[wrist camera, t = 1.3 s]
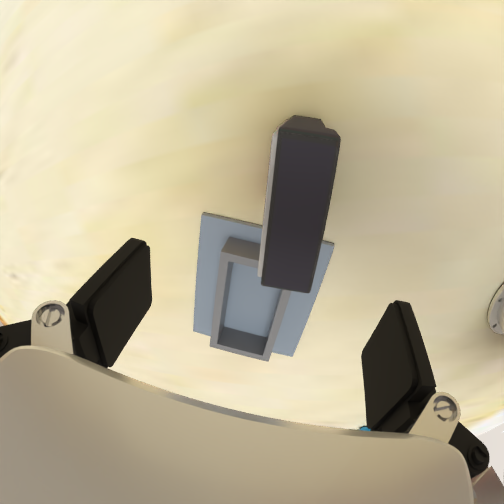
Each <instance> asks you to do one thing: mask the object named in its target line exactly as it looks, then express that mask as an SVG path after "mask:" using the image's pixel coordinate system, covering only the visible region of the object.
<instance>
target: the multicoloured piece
mask: <svg viewBox="0 0 504 504" xmlns="http://www.w3.org/2000/svg"><path fill="white" fill-rule="evenodd" d="M340 140H341V139H340V136H339V135H338V133H337V132H336V131H335V130H333V129H329V128H326V127H325V126H324V124H323V122H322V121H321V119H316V118H310V117H303V116H296V115H294V116H292V117H291V118H290V119H287V120H286V121H285V122H284V123H282V124H281V125H279V126H278V127H277V130H276V131H275V132H274V133H273V135H272V142H271V152H270V161H269V171H268V181H267V190H266V200H265V209H264V218H263V228H262V237H261V246H260V255H259V264H258V274H257V276H258V277H261V285H262V286H266V287H272V288H277V289H283V290H289V291H295V292H301V293H310V291H311V288H312V283H313V279H314V275H315V271H316V266H317V262H318V258H319V253H320V248H321V244H322V239H323V235H324V230H325V225H326V220H327V215H328V210H329V205H330V200H331V194H332V189H333V183H334V178H335V172H336V166H337V160H338V154H339V148H340Z"/></svg>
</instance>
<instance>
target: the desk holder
mask: <svg viewBox="0 0 504 504" xmlns="http://www.w3.org/2000/svg"><path fill="white" fill-rule="evenodd" d="M262 228H263V226H261V225H257V224H253V223H248V222H244V221H240V220H235V219H231V218H227V217H222V216H218V215H213V214H209V213H203V214H202V216H201V227H200V238H199V250H198V263H197V276H196V291H195V308H194V328H193V331H195V332H198V333H201V334H205V335H208V336H211V339H210V347H214V348H217V349H221V350H225V351H228V352H232V353H236V354H240V355H243V356H247V357H251V358H255V359H259V360H264V361H269V358H270V355H271V353H272V352H274V353H278V354H282V355H287V356H291V357H292V356H293V354H294V352H295V349H296V347H297V345H298V342H299V340H300V337H301V335H302V332H303V330H304V327H305V325H306V322H307V320H308V317H309V315H310V312H311V310H312V307H313V304H314V302H315V299H316V296H317V294H318V291H319V288H320V286H321V283H322V280H323V277H324V275H325V272H326V269H327V266H328V263H329V261H330V258H331V255H332V252H333V249H334V243H330V242H327V241H323V240H322V244H321V248H320V253H319V258H318V262H317V266H316V271H315V275H314V279H313V283H312V288H311V291H310V293H301V292H295V291H289V290H283V289H277V288H272V287H266V286H262V285H261V277H258V276H257V274H258V264H259V255H260V246H261V237H262Z"/></svg>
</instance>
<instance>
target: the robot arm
mask: <svg viewBox="0 0 504 504" xmlns="http://www.w3.org/2000/svg"><path fill="white" fill-rule="evenodd" d="M151 303H152V290H151V268H150V247H149V246H147V244H146V242H145V241H143V240H139V239H135V238H131V239H129V240H128V241H127V242H126V243H125V244H124V245H123V246H122V247H121V248H120V249H119V250H118V251H117V252H116V253H115V254H114V255H113V256H112V257H110V258H109V259H108V260H107V261H106V262H105V263H104V264H103V265H102V266H101V267H100V268H99V269H98V270H97V271H96V272H95V274H94V275H93V276H92V277H91V278H90V279H89V280H88V281H87V282H86V283H85V284H84V285H83V286H82V287H81V288H80V289H79V290H78V291H77V292H76V293H75V294H74V295H73V297H72V298H71V299H70V301H69V302H68V303H67V304H66V305H65V304H64V303H62V302H61V301H56V300H55V301H47V302H44V303H42V304H41V305H39V306H38V307H37V308H36V309H35V310H34V312H33V314H32V320H28V321H23V322H19V323H15V324H10V325H6V326H1V327H0V504H504V486H503V484H502V483H501V481H500V479H499V478H498V476H497V474H496V473H495V471H494V469H493V467H492V466H491V467H489V468H488V464H489V452H488V450H487V448H486V446H485V445H484V444H483V443H482V442H481V441H480V440H479V439H478V438H476V437H475V436H474V435H473V434H472V433H471V432H470V431H469V430H468V429H467V428H465V427H464V426H463V425H462V424H461V423H460V422H459V419H460V415H461V413H460V407H459V404H458V403H457V401H456V399H455V398H454V397H453V396H451V395H450V394H448V393H445V392H437V393H436V390H435V387H436V384H435V380H434V376H433V372H432V369H431V365H430V362H429V358H428V355H427V352H426V349H425V345H424V342H423V339H422V336H421V333H420V330H419V327H418V324H417V321H416V318H415V316H414V313H413V310H412V307H411V305H410V303H408V302H403V301H398V300H396V301H394V303H390V304H389V305H388V307H387V309H386V311H385V313H384V315H383V316H382V318H381V320H380V322H379V323H378V325H377V327H376V329H375V330H374V332H373V334H372V336H371V337H370V339H369V341H368V342H367V344H366V346H365V347H364V349H363V351H362V356H361V359H362V369H363V379H364V391H365V404H366V420H367V428H368V429H370V431H364V430H353V429H342V428H332V427H324V426H316V425H309V424H302V423H296V422H290V421H284V420H279V419H273V418H268V417H263V416H258V415H254V414H249V413H245V412H240V411H236V410H232V409H228V408H224V407H220V406H216V405H213V404H209V403H205V402H202V401H198V400H195V399H192V398H188V397H185V396H182V395H179V394H175V393H172V392H169V391H166V390H163V389H160V388H157V387H155V386H152V385H149V384H146V383H144V382H141V381H138V380H136V379H133V378H130V377H128V376H125V375H123V374H120V373H117V372H115V371H112V370H110V369H107V367H112V366H113V364H114V363H115V361H116V359H117V358H118V356H119V355H120V353H121V351H122V350H123V348H124V347H125V345H126V344H127V342H128V340H129V339H130V337H131V336H132V334H133V333H134V331H135V329H136V328H137V326H138V325H139V323H140V322H141V320H142V319H143V317H144V316H145V314H146V313H147V311H148V310H149V308H150V306H151ZM488 323H489V325H490V327H491V329H492V330H493V331H494V332H495V333H497V334H504V284H503V285H502V286H501V287H500V289H499V290H498V291H497V293H496V295H495V296H494V298H493V300H492V302H491V304H490V307H489V311H488Z"/></svg>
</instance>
